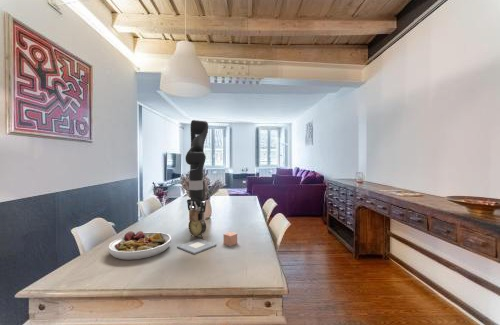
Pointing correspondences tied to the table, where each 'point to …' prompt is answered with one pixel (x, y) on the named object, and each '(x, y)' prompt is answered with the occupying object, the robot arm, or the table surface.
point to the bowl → (139, 245)
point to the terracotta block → (230, 238)
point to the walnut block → (194, 215)
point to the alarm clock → (197, 228)
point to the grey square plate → (196, 246)
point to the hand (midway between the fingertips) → (196, 219)
